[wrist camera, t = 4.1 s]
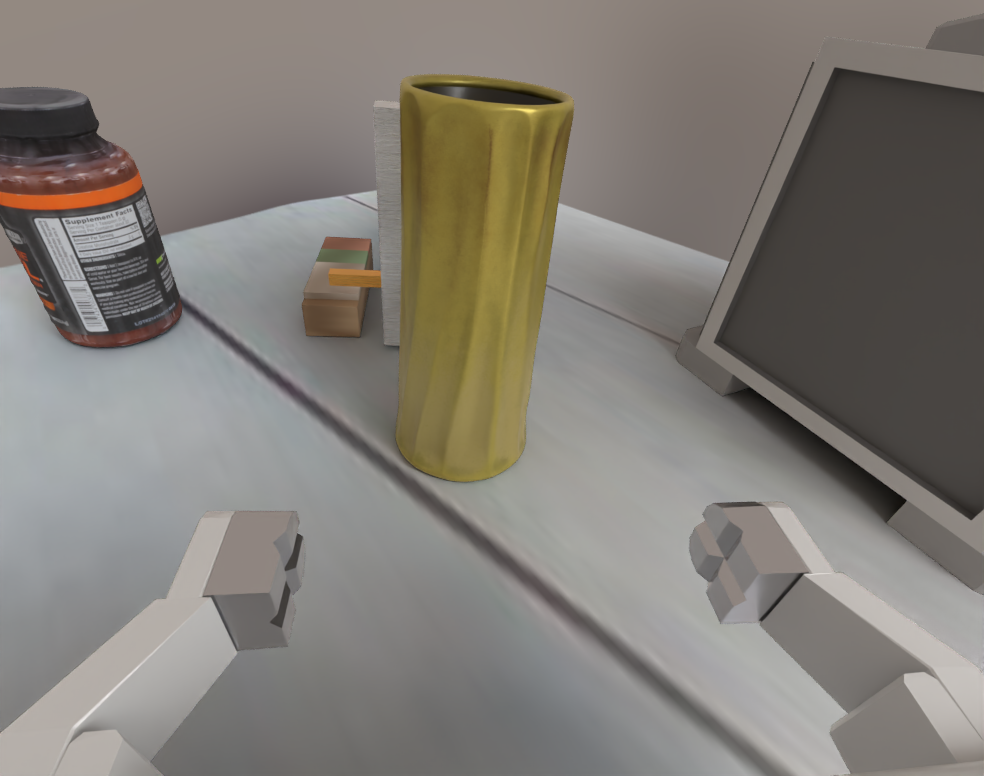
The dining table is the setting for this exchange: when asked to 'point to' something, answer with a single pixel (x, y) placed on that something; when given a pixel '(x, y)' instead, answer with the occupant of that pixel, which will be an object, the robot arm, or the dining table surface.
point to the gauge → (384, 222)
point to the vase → (473, 264)
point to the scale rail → (337, 289)
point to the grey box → (874, 280)
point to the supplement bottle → (81, 221)
